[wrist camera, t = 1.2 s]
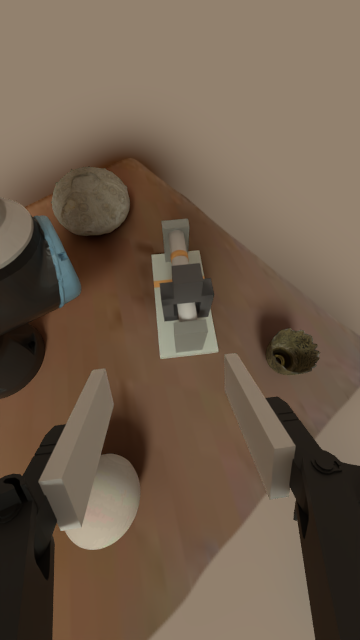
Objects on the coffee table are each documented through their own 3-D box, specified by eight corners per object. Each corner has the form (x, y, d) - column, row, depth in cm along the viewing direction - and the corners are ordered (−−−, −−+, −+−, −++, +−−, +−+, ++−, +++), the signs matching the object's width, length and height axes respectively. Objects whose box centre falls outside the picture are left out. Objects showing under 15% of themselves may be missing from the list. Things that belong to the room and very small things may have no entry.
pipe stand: (217, 352, 44) (228, 332, 34) (160, 359, 44) (154, 340, 34) (198, 253, 54) (203, 215, 44) (152, 258, 53) (145, 220, 43)
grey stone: (123, 250, 54) (111, 215, 45) (51, 241, 56) (26, 205, 46) (140, 198, 62) (133, 159, 52) (76, 190, 63) (59, 151, 53)
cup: (254, 376, 42) (270, 366, 35) (258, 339, 45) (273, 323, 38) (295, 385, 42) (320, 378, 34) (296, 347, 45) (319, 333, 37)
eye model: (67, 511, 34) (26, 544, 25) (99, 439, 38) (74, 445, 29) (127, 541, 33) (107, 588, 24) (155, 464, 37) (147, 479, 28)
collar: (208, 316, 42) (218, 279, 31) (164, 321, 41) (158, 285, 30) (205, 302, 43) (214, 261, 32) (162, 306, 43) (157, 267, 32)
